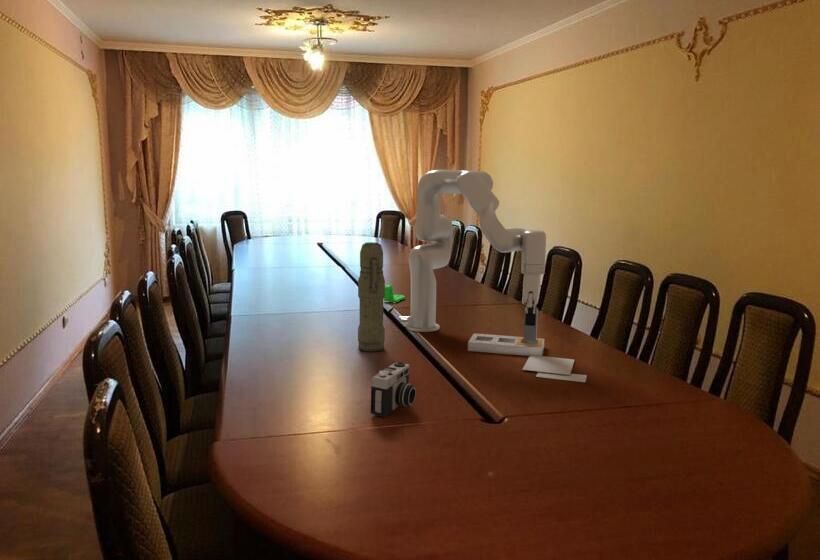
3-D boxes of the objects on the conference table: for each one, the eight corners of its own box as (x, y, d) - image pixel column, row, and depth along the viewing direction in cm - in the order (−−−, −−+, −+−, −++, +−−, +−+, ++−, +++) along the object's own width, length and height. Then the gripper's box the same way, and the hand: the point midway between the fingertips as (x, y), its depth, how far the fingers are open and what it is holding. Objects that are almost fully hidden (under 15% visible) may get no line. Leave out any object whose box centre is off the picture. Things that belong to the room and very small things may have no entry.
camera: (395, 420, 152) (396, 380, 150) (364, 412, 156) (364, 373, 155) (425, 403, 163) (426, 365, 162) (395, 396, 168) (395, 359, 166)
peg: (523, 339, 210) (524, 310, 209) (524, 337, 214) (525, 307, 213) (535, 340, 209) (537, 310, 208) (536, 337, 213) (537, 308, 212)
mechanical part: (396, 304, 285) (396, 286, 284) (384, 303, 287) (384, 285, 286) (406, 299, 296) (406, 282, 295) (394, 298, 298) (394, 281, 297)
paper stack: (605, 364, 199) (606, 362, 199) (602, 390, 176) (602, 387, 176) (530, 357, 207) (530, 354, 207) (517, 380, 183) (517, 377, 183)
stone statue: (378, 342, 221) (379, 240, 215) (389, 351, 210) (390, 244, 204) (353, 344, 218) (353, 241, 212) (363, 353, 207) (363, 245, 201)
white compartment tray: (467, 350, 212) (468, 341, 211) (473, 341, 223) (473, 332, 223) (541, 356, 206) (542, 347, 205) (543, 347, 217) (544, 338, 217)
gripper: (523, 264, 217) (521, 317, 220) (518, 271, 201) (516, 328, 204) (546, 265, 215) (543, 319, 218) (543, 273, 199) (540, 330, 202)
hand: (530, 323), depth 211 cm, fingers closed on peg, 4 cm apart
